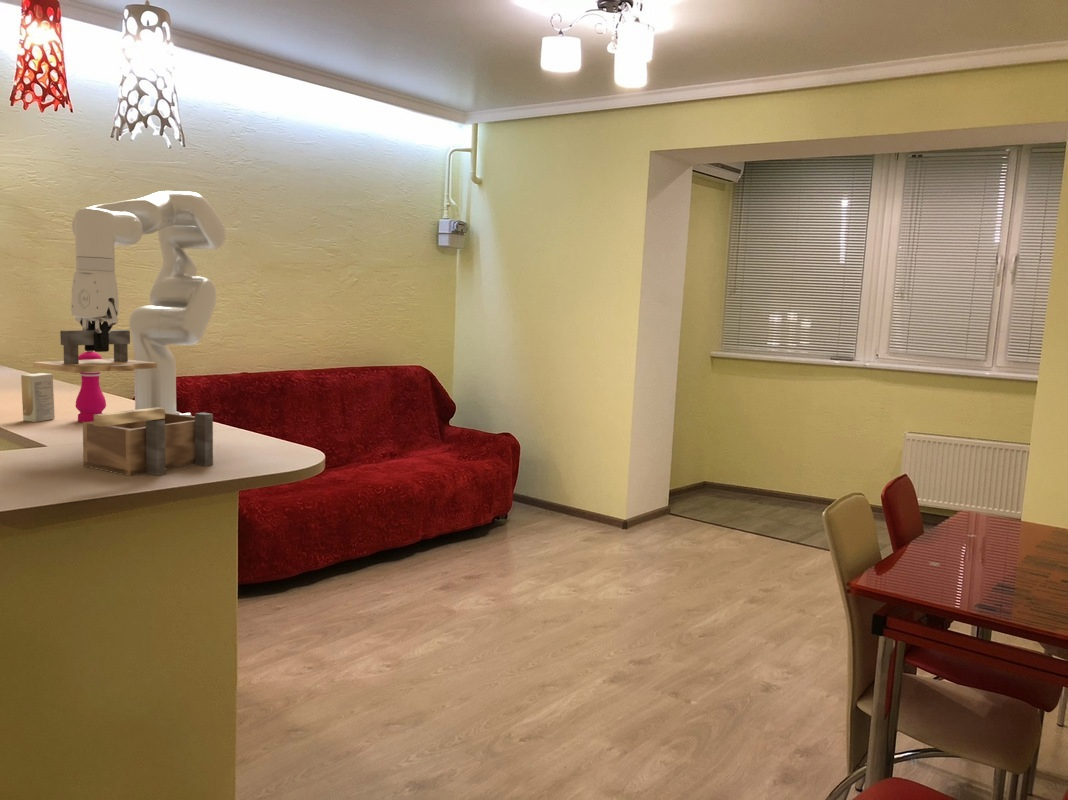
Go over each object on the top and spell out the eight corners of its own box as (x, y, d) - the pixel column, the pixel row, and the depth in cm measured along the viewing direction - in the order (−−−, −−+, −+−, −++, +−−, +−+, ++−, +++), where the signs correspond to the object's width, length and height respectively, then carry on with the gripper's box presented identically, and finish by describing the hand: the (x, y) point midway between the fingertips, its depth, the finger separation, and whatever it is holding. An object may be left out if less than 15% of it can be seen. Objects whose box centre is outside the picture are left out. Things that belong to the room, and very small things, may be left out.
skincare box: (43, 417, 229) (42, 372, 227) (55, 419, 227) (54, 373, 226) (21, 420, 223) (20, 374, 222) (33, 422, 221) (31, 375, 220)
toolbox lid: (115, 363, 200) (115, 328, 199) (164, 368, 193) (164, 332, 192) (32, 367, 182) (31, 329, 181) (83, 373, 175) (82, 333, 174)
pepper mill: (112, 419, 231) (110, 345, 229) (95, 423, 224) (94, 347, 221) (86, 418, 232) (85, 344, 229) (69, 421, 225) (68, 345, 222)
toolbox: (166, 452, 191) (165, 404, 190) (223, 462, 183) (223, 412, 182) (83, 466, 173) (82, 413, 172) (143, 478, 165) (143, 423, 164)
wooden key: (158, 417, 170) (157, 407, 170) (165, 418, 169) (164, 408, 169) (93, 425, 157) (93, 414, 157) (101, 426, 157) (100, 415, 156)
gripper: (55, 264, 186) (57, 349, 188) (104, 266, 179) (105, 354, 181) (87, 266, 192) (88, 348, 195) (135, 268, 185) (136, 353, 187)
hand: (96, 350), depth 188 cm, fingers closed on toolbox lid, 2 cm apart
